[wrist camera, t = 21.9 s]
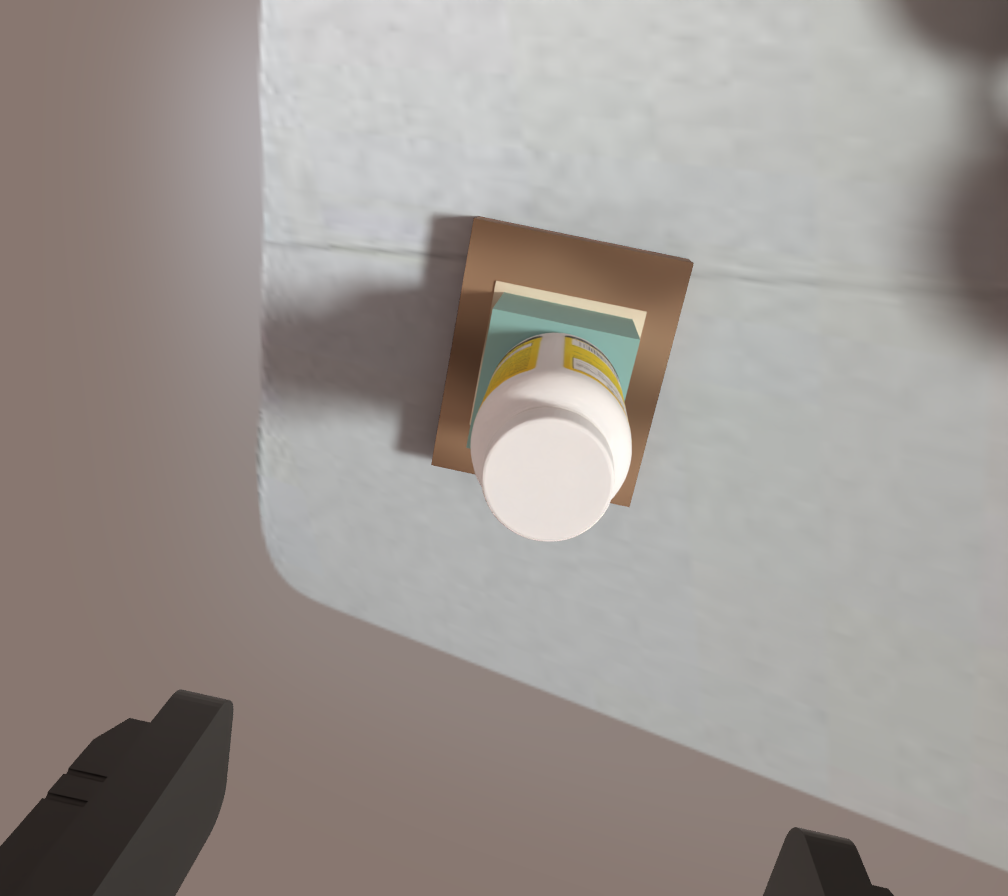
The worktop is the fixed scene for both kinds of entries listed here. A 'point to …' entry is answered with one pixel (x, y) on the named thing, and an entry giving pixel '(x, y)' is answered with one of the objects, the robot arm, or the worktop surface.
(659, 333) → the base board
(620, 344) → the teal block
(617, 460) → the supplement bottle
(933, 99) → the worktop surface
